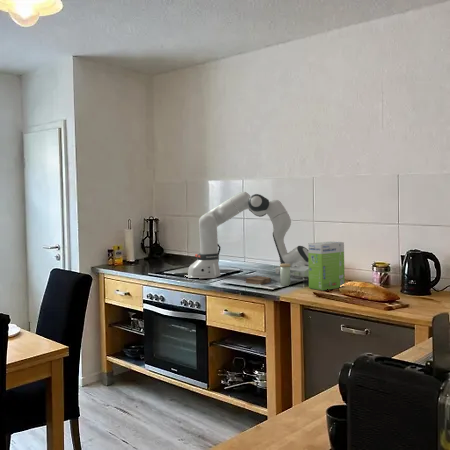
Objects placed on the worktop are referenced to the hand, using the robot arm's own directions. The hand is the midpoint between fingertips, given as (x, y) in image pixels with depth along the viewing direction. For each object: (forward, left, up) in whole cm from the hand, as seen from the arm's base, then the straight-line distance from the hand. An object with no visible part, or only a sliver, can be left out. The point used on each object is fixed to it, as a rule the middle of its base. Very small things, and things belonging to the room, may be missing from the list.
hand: (285, 273), depth 284 cm
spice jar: (0, 0, -6) cm, 6 cm away
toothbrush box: (+16, -17, -7) cm, 24 cm away
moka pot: (-20, +69, -7) cm, 72 cm away
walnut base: (-10, +14, -6) cm, 18 cm away
